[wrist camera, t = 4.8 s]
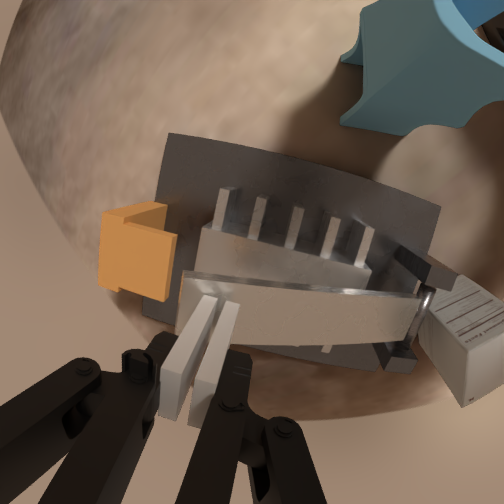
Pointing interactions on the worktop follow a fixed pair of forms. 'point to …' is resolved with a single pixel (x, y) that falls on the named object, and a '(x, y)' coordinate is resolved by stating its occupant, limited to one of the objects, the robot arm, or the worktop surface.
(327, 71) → the worktop surface
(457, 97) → the vase
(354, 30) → the worktop surface
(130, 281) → the lug slider
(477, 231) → the worktop surface
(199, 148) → the heatsink
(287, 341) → the strap
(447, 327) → the supplement box
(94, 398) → the robot arm
